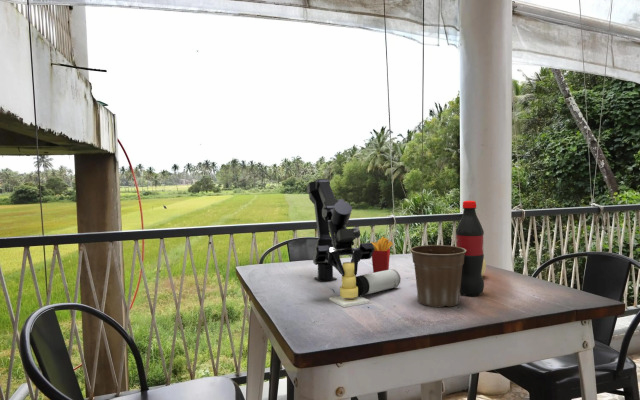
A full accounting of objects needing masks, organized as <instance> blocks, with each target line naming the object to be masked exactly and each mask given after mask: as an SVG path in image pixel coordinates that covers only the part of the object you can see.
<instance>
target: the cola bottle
mask: <svg viewBox="0 0 640 400" xmlns="http://www.w3.org/2000/svg"><path fill="white" fill-rule="evenodd" d="M462 209H463V211H462V216H461V218H460V220H459V222H458V223H457V226H456V230H455V236H456V241H455V243H456V245H455V246H456V247H461V248H464V249H466V253H465V255H464V264H463V265H462V276H461V288H460V295H463V296H469V297H475V296H479V295H482V293H483V292H484V288H485V281H484V279H483V275H482V274H481V272H482V266H483V259H485V258H484V257H485V256H484V255H485V254H484V235H485V233H484V228H483V226H482V223H481V222H480V220H479V218H478V216H477V212H476V209H477V201H475V200H463V202H462Z"/></svg>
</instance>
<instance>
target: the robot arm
mask: <svg viewBox="0 0 640 400" xmlns="http://www.w3.org/2000/svg"><path fill="white" fill-rule="evenodd" d="M332 189H333V188H332V187H331V181H330V179H329V178H317V179H315V180H313V181H310V182H309V183H308V184H307V185H306V193H307V195H308V198H309V200H310V202H312V204H313V205H314V213H315V214H314V215H315V222H316V231H317V241H316V244H315V247H314V251H313V254H312V255H313V256H312V263H313V264H314V265H315V266H317V276H315V277H314V279H315V280H316V281H317V280H318V281H320V282H321V283H322V282H331V281H336V280H337V278H336V277H335V276H334V268H335V270H337V272H338V273H339V274H340V275H341V277H342V276H344V275H345V274H344V269H343V262H342V261H341V256H351V259H350V262H353V263H354V273H355V276H358V275H357V274H358V268H359V267H358V266H359V262H360V261H361V260H370V259H372V254H373V251H374V245H373V244H372V243H373V242H372V243H371V242H360V244H359V246H358V247H353V246H354V244H355V242H354V240H356V239H359V238H360V237H361V231H360V228H359V226H356V227H352V228H347V225H348V224H349V221H350V217H351V215H352V211H353V210H352V209H353V206H352V205H351V204H350V203H349V202H348V201H347V202H346V201H345V200H344V198H343V199H340V198H339V199H337V198H336V197H335V194H334V192H333V190H332Z"/></svg>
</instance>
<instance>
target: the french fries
mask: <svg viewBox="0 0 640 400" xmlns="http://www.w3.org/2000/svg"><path fill="white" fill-rule="evenodd" d="M370 243H372V244H373V245H374V251H373V254H372V256H371V263H372V270H373V272H372V273H375V272H380V271H385V270H390V258H391V255H390V254H391V247H392V246H393V245H394V243H393V242H392V241H391V240H389V238H387V237H384V236H381V238H379V239H378V240H377V241H374V242H372V241H371V242H370Z"/></svg>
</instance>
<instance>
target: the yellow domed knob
mask: <svg viewBox="0 0 640 400" xmlns="http://www.w3.org/2000/svg"><path fill="white" fill-rule="evenodd" d="M342 266H343V269H344V274H345V275H344V276H342V275H341V286H339V296H341V297H344V298H354V297H357V296H358V287H357V286H356V276H357V275H355V273H354V263H353V262H351V261H346V262H342Z"/></svg>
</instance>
